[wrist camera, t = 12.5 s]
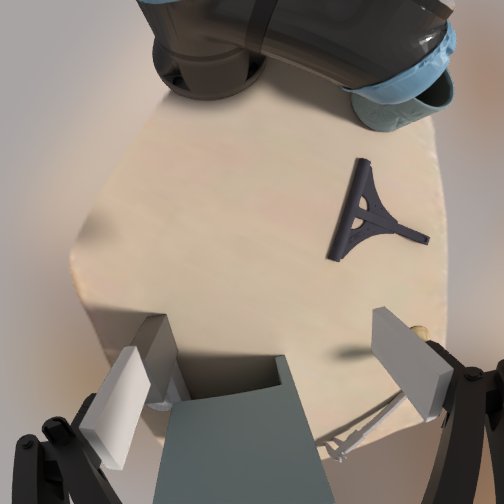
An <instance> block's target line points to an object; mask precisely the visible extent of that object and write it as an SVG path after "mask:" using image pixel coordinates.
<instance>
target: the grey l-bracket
mask: <svg viewBox="0 0 504 504" xmlns="http://www.w3.org/2000/svg"><path fill="white" fill-rule="evenodd" d="M130 346H136V347H137V350H138V352H139V355H140V358H141V361H142V363H143V366H144V369H145V371H146V374H147V377H148V379H149V382H150V384H151V385H150V388H149V391H148V394H147V397H146V399H145V402H144V404H152V403H164V400H165V396H166V393H167V392H168V394H169V397H170V399H171V401H172V404H173V402H179V401H188V400H192V399H191V397H190V394H189V392H188V389H187V387H186V384H185V382H184V379H183V376H182V374H181V371H180V368H179V366H178V363H177V360H176V357H177V354H178V348H177V345H176V343H175V340H174V336H173V333H172V330H171V327H170V324H169V321H168V318H167V314H164V315H158V316H152V317H147V318H146V319H145V321H144V323H143V324H142V326H141V328H140V329H139V331H138V333H137V334H136V336H135V338H134V339H133V341H132V343H131V344H130Z"/></svg>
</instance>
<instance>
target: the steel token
mask: <svg viewBox="0 0 504 504" xmlns="http://www.w3.org/2000/svg"><path fill="white" fill-rule="evenodd" d="M147 405H148V406H149V407H150V408H152V409H154V410H157V411H168V410H170V409H171V408H172V406H173V404H172V401H171V399H170V397H169V394H168V392H167V393H166V396H165V400H164V403H152V404H147Z"/></svg>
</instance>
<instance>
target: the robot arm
mask: <svg viewBox="0 0 504 504" xmlns="http://www.w3.org/2000/svg"><path fill="white" fill-rule="evenodd" d="M136 1H137V2H138V4H139V6H140V8H141V10H142V12H143V14H144V16H145V18H146V20H147V21H148V23H149V25H150V27H151V29H152V31H153V33H154V35H155V39H154V45H153V53H152V55H153V62H154V66H155V69H156V71H157V73H158V74H159V76H160V78H161V79H162V81H163V82H164V83H165V84H166V85H167V86H168V87H169V88H170V89H171V90H173V91H174V92H176V93H178V94H180V95H182V96H185V97H188V98H191V99H197V100H217V99H222V98H226V97H230V96H233V95H235V94H237V93H239V92H241V91H243V90H245V89H246V88H247V87H249V86H250V85H251V84H252V83H253V82H255V80H256V79H257V78H258V77H259V76H260V74H261V73H262V71H263V69H264V67H265V64H266V61H267V57H271V58H274V59H277V60H280V61H282V62H285V63H288V64H290V65H293V66H295V67H298V68H300V69H303V70H305V71H307V72H310V73H312V74H315V75H317V76H319V77H321V78H324V79H326V80H328V81H330V82H332V83H334V84H337V85H338V86H339V88H341V89H343V90H345V91H348V92H353V93H356V94H359V95H361V96H363V97H365V98H367V99H369V100H371V101H373V102H376V103H379V104H399V103H402V102H405V101H408V100H410V99H412V98H414V97H416V96H418V95H419V94H421V93H422V92H423V91H425V90H426V89H427V88H428V87H430V86H431V85H432V84H433V83H434V82H435V81H436V80H437V79H438V78H439V77H440V75H441V74H442V73H443V72H444V70H445V69H446V67H447V65H448V64H449V62H450V60H449V58H448V56H449V55H451V54H452V53H454V50H455V46H456V36H455V31H454V29H453V28H452V26H451V24H450V23H449V21H448V20H447V19H448V17H449V16H450V15H451V14H452V12H453V11H454V10H455V8H456V7H455V3H454V0H136ZM371 351H372V352H373V353H374V355H375V356H376V357H377V359H378V360H379V361H380V362H381V364H382V365H383V366H384V368H385V369H386V370H387V372H388V373H389V374H390V375H391V377H392V378H393V379H394V381H395V382H396V383H397V385H398V386H399V387H400V388H401V390H402V391H403V392H404V394H405V395H406V396H407V398H408V399H409V400H410V402H411V403H412V404H413V406H414V407H415V408H416V410H417V411H418V412H419V414H420V415H421V416H422V418H423V419H424V420H425V422H428V421H430V420H432V419H435V418H436V417H439V416H440V413H441V410H442V408H444V409H445V410H446V411H447V413H446V416H445V419H444V421H443V424H442V427H441V428H443V431H442V435H441V439H440V444H439V447H438V451H437V455H436V459H435V463H434V466H433V470H432V473H431V476H430V480H429V482H428V486H427V489H426V492H425V494H424V497H423V500H422V503H421V504H473V500H474V496H475V491H476V486H477V481H478V476H479V470H480V463H481V456H482V448H483V438H484V426H485V427H486V432H487V437H488V442H489V448H490V454H491V460H492V467H493V474H494V483H495V494H496V504H504V359H503V360H501V361H500V362H498V365H497V368H496V370H493V371H489V372H483V371H482V370H481V369H479V368H477V367H465V366H464V365H462V364H461V363H460V362H459V361H457V359H456V358H455V357H453V356H452V355H451V354H449V352H448V351H447V350H445V349H444V348H443V347H442V346H441V345H440V344H439V343H436V342H434V341H431V340H429V341H426V342H424V341H423V340H422V339H421V338H420V337H419V336H418V335H416V334H415V333H414V332H413V331H412V330H411V329H410V328H409V327H407V326H406V325H405V324H404V323H403V322H402V321H401V320H400V319H398V318H397V317H396V316H395V315H394V314H393V313H392V312H390V311H389V310H388V309H387V308H386V307H385V306H384V307H380V308H376V309H373V319H372V343H371ZM150 385H151V384H150V382H149V379H148V377H147V374H146V371H145V369H144V366H143V363H142V361H141V358H140V355H139V352H138V350H137V347H136V346H127V347H124V348H123V349H122V351H121V353H120V355H119V356H118V358H117V360H116V361H115V363H114V365H113V366H112V368H111V370H110V372H109V373H108V375H107V377H106V379H105V381H104V382H103V384H102V386H101V387H100V389H99V391H98V393H97V394H96V393H92V394H91V395H90V396H88V397H87V398H86V399H85V401H84V402H83V404H82V406H81V408H80V409H79V411H78V413H77V414H76V416H75V418H74V420H73V422H72V423H71V425H69V424H68V422H67V421H66V419H65V418H63V417H53V418H50V419H48V420H47V421H46V422H45V423H44V424H43V426H42V432H43V433H44V435H45V436H46V438H47V439H48V441H46V442H40V441H39V440H38V438H37V437H36V436H35V435H32V434H27V435H25V436H22V437H21V438H20V439H19V440H18V441H17V444H16V451H15V458H14V468H13V482H12V504H70V500H69V494H70V496H71V498H72V501H73V503H74V504H122V502H121V501H120V499H119V498H118V496H117V495H116V493H115V492H114V490H113V488H112V487H111V485H110V483H109V482H108V480H107V478H106V476H105V475H104V473H103V471H102V470H101V469H100V464H101V461H102V462H103V463H104V465H105V466H106V467H107V468H108V469H114V470H122V469H123V466H124V463H125V460H126V456H127V453H128V450H129V447H130V444H131V441H132V438H133V435H134V432H135V428H136V426H137V423H138V420H139V417H140V414H141V411H142V408H143V405H144V402H145V399H146V397H147V394H148V391H149V388H150Z"/></svg>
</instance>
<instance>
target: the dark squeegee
mask: <svg viewBox="0 0 504 504" xmlns="http://www.w3.org/2000/svg"><path fill="white" fill-rule="evenodd" d="M370 164H371V162H370V161H369V160H367V159H364V158H360V160H359V163H358V167H357V171H356V174H355V177H354V181H353V184H352V188H351V191H350V194H349V197H348V201H347V204H346V207H345V210H344V213H343V216H342V220H341V223H340V226H339V229H338V232H337V235H336V238H335V241H334V244H333V247H332V249H331V252H330V255H329V259H331V260H333V261H336V262H340V259H343V258H344V257H345V256H346V255H347V254H348V252H349V251H350V250H351V249H353V248H354V247H355V246H356V245H357V244H359V243H360V242H362V241H363V240H365V239H367V238H369V237H371V236H374V235H378V234H394V232H396V233H398V234H401V235H403V236H405V237H408V238H410V239H413V240H415V241H417V242H420V243H422V244H425V245H428V242H429V239H430V237H429V236H426V235H424V234H422V233H419V232H417V231H414V230H412V229H410V228H407V227H405V226H402V225H400V224H398V221H397V220H396V219H394V218H393V217H392V216H391V215H390V214H389V213H388V212H387V210H386V209H385V208H384V206H383V205H382V203H381V201H380V199H379V196H378V194H377V191H376V188H375V185H374V180H373V174H372V167H371V166H370ZM361 195H362V196H363V197H365V199H366V200H367V202H368V206H369V209H368V211H366V210H364V209H362V208H360V207H359V202H360V198H361ZM355 217H357V218H361V219H363V220H365V222H364V224H363V225H362V226H361V227H360V228H358V229H351V227H352V224H353V221H354V219H355ZM367 229H368V230H367Z"/></svg>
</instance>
